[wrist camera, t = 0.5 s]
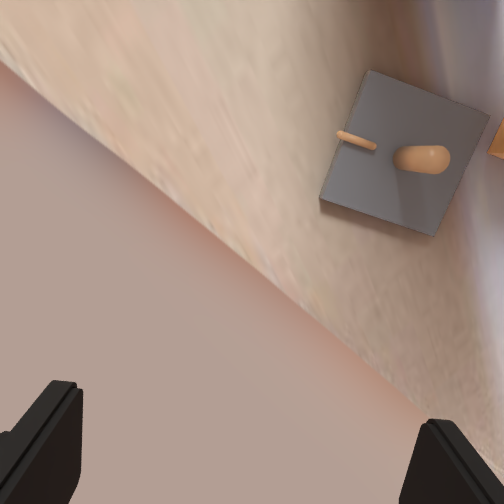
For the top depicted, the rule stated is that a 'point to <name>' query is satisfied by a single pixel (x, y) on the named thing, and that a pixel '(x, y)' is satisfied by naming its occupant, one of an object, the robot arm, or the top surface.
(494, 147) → the orange wooden cube
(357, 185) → the grey board with peg
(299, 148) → the top surface
